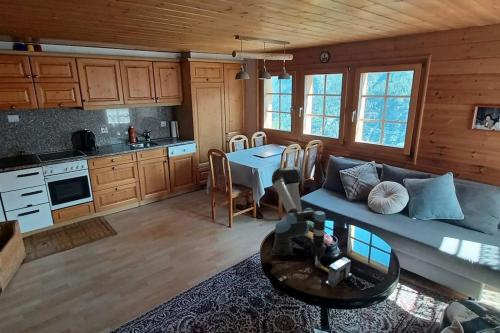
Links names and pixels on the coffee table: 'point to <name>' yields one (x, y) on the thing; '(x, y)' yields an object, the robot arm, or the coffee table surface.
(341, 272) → the yellow handled grey mallet
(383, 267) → the coffee table surface
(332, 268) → the housing
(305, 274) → the coffee table surface
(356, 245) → the coffee table surface
